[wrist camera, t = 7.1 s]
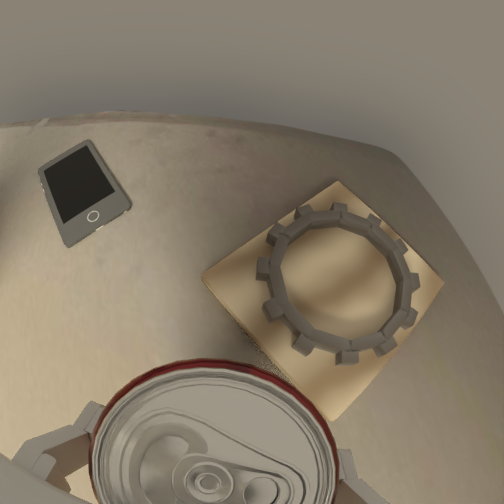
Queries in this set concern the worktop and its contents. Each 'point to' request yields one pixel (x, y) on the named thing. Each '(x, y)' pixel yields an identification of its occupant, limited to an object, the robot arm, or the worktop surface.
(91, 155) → the smartphone
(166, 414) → the soda can
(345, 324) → the ring board
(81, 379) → the worktop surface
